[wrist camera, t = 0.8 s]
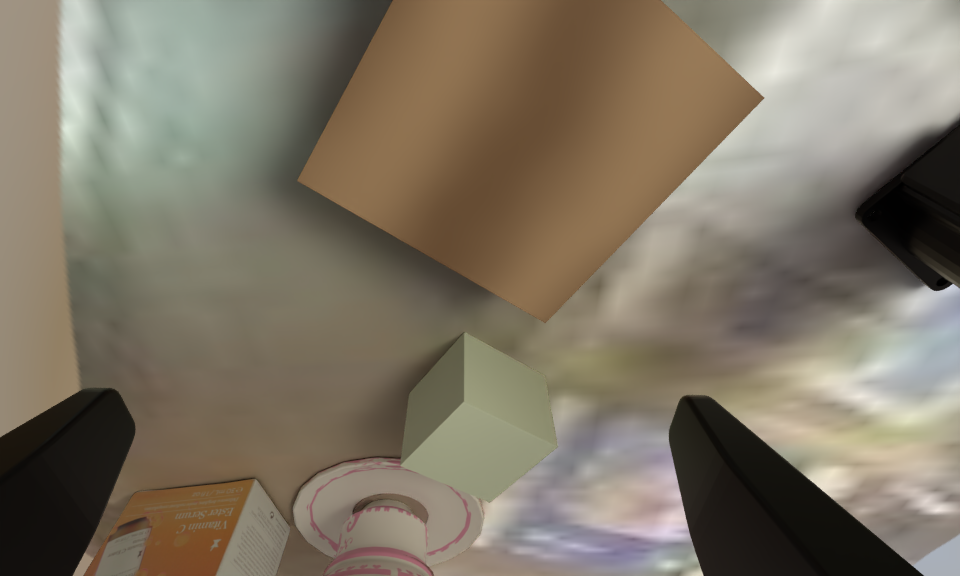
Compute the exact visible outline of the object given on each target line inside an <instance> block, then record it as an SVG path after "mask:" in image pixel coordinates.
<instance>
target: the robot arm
mask: <svg viewBox="0 0 960 576" xmlns="http://www.w3.org/2000/svg"><path fill="white" fill-rule="evenodd" d="M873 211H874V213H873V214H872V215H870V216H869V214H870V213H871V212H873ZM868 216H869V217H868ZM855 218H856V219H857V221H858V222H859V223H860V224H861V225H862V226H863V227H865V228H866V229H867V230H868V231H869V232H870V233H871V234H872V235H873V236H874V237H875V238H876V239H877V240H878V241H879V242H880V243H881V244H883V245H884V246H885V247H886V248H887V249H888V250H889V251H890V252H891V253H892V254H893V255H894V256H895V257H896V258H897V259H898V260H899V261H901V262H902V263H903V264H904V265H905V266H906V267H907V268H908V269H909V270H910V271H911V272H912V273H913V274H914V275H915V276H916V277H917V278H919V279H920V280H921V281H922V282H923V283H924V284H925V285H926V286H928V287H929V288H930V289H932V290H934V291H940V290H944V289H945V288H947V287H949V286H950V285H952V284H954V285H956V286H957V287H959V288H960V125H959V126H958V127H957V128H956V129H954V130H953V131H952V132H951V133H950V134H948V135H947V136H946V137H945V138H943V139H942V140H941V141H940V142H938V143H937V144H936V145H935V146H934V147H932V148H931V149H930V150H929V151H927V152H926V153H925V154H924V155H922V156H921V157H920V158H919V159H917V160H916V161H915V162H914V163H913V164H911V165H910V166H909V167H908V168H906V169H905V170H904V171H903V172H901V173H900V174H899V175H898V176H897V177H895V178H894V179H893V180H892V181H890V182H889V183H888V184H887V185H885V186H884V187H883V188H882V189H881V190H879V191H878V192H877V193H876V194H874V195H873V196H872V197H871V198H869V199H868V200H867V201H866V202H865V203H863V204H862V205H861V206H860V207H859V208H858V209H857V211H856V215H855ZM134 436H135V422H134V420H133V418H132V416H131V414H130V412H129V411H128V409H127V407H126V405H125V403H124V401H123V399H122V397H121V395H120V394H119V392H118V391H116V390H115V389H112V388H87V389H83V390H81V391H79V392H77V393H76V394H74V395H72V396H70V397H69V398H67V399H65V400H64V401H62V402H60V403H59V404H57V405H55V406H53V407H51V408H50V409H48V410H47V411H45V412H43V413H41V414H40V415H38V416H36V417H34V418H33V419H31V420H29V421H27V422H26V423H24V424H22V425H21V426H19V427H17V428H16V429H14V430H12V431H10V432H9V433H7V434H5V435H3V436H2V437H0V576H73V574H74V572H75V570H76V568H77V566H78V564H79V562H80V560H81V559H82V557H83V555H84V553H85V551H86V549H87V547H88V545H89V543H90V541H91V539H92V537H93V535H94V533H95V531H96V529H97V527H98V524H99V522H100V520H101V518H102V515H103V513H104V511H105V508H106V506H107V503H108V501H109V498H110V496H111V493H112V491H113V488H114V486H115V484H116V481H117V479H118V476H119V474H120V471H121V469H122V466H123V464H124V461H125V459H126V456H127V454H128V452H129V449H130V447H131V444H132V442H133V439H134ZM669 443H670V448H671V452H672V457H673V461H674V466H675V470H676V475H677V479H678V484H679V488H680V493H681V497H682V502H683V506H684V511H685V515H686V520H687V524H688V528H689V532H690V536H691V539H692V542H693V545H694V548H695V552H696V554H697V557H698V560H699V563H700V566H701V569H702V572H703V575H704V576H924V575H922V574H921V573H920V572H919V571H918V570H916V569H915V568H914V567H913V566H912V565H911V564H909V563H908V562H907V561H906V560H905V559H903V558H902V557H901V556H900V555H899V554H897V553H896V552H895V551H894V550H893V549H891V548H890V547H889V546H888V545H887V544H885V543H884V542H883V541H882V540H881V539H880V538H878V537H877V536H876V535H875V534H874V533H872V532H871V531H870V530H869V529H868V528H866V527H865V526H864V525H863V524H862V523H860V522H859V521H858V520H857V519H856V518H854V517H853V516H852V515H851V514H850V513H848V512H847V511H846V510H845V509H844V508H843V507H841V506H840V505H839V504H838V503H837V502H835V501H834V500H833V499H832V498H831V497H829V496H828V495H827V494H826V493H825V492H823V491H822V490H821V489H820V488H819V487H817V486H816V485H815V484H814V483H813V482H812V481H810V480H809V479H808V478H807V477H806V476H804V475H803V474H802V473H801V472H800V471H798V470H797V469H796V468H795V467H794V466H792V465H791V464H790V463H789V462H788V461H786V460H785V459H784V458H783V457H782V456H781V455H779V454H778V453H777V452H776V451H775V450H773V449H772V448H771V447H770V446H769V445H767V444H766V443H765V442H764V441H763V440H761V439H760V438H759V437H758V436H757V435H755V434H754V433H753V432H752V431H751V430H750V429H748V428H747V427H746V426H745V425H744V424H742V423H741V422H740V421H739V420H738V419H736V418H735V417H734V416H733V415H732V414H730V413H729V412H728V411H727V410H726V409H724V408H723V407H722V406H721V405H720V404H718V403H717V402H716V401H715V400H714V399H712V398H711V397H709V396H705V395H686V396H683V397H682V398H681V399H680V401H679V403H678V406H677V409H676V412H675V415H674V417H673V420H672V423H671V426H670V429H669Z"/></svg>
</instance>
